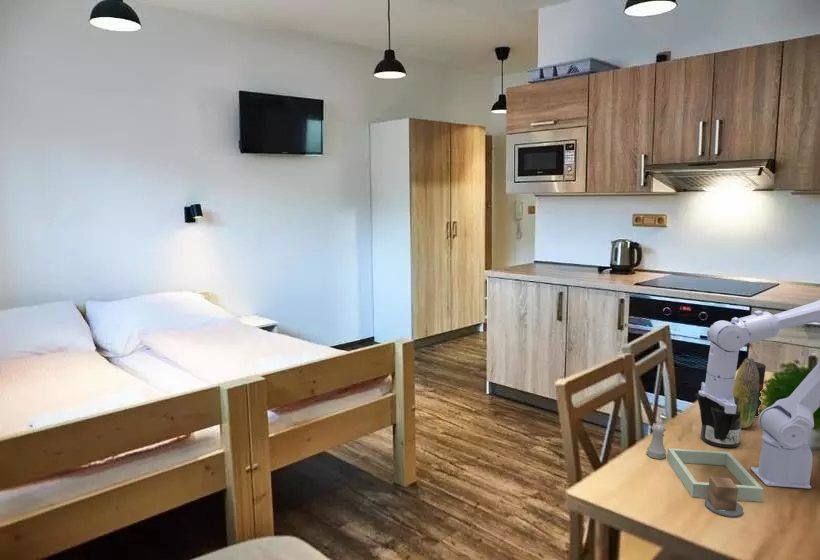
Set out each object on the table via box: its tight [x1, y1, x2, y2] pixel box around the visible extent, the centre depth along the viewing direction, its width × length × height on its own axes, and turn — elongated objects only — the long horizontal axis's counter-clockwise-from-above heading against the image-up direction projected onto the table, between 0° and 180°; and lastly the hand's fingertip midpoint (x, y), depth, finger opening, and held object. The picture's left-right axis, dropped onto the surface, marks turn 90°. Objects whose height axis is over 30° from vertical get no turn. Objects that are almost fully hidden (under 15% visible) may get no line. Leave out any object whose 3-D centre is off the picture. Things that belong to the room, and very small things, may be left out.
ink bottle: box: [700, 396, 742, 449], centre depth 150 cm, size 10×9×12 cm
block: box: [707, 476, 738, 511], centre depth 119 cm, size 4×4×5 cm
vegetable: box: [733, 357, 759, 429], centre depth 159 cm, size 6×6×20 cm
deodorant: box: [741, 361, 767, 416], centre depth 168 cm, size 6×6×15 cm
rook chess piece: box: [646, 422, 667, 460], centre depth 142 cm, size 4×4×8 cm
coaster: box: [704, 497, 744, 518], centre depth 119 cm, size 7×7×1 cm
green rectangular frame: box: [666, 447, 764, 503], centre depth 131 cm, size 14×17×3 cm
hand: (713, 431), depth 131 cm, fingers open, 7 cm apart
